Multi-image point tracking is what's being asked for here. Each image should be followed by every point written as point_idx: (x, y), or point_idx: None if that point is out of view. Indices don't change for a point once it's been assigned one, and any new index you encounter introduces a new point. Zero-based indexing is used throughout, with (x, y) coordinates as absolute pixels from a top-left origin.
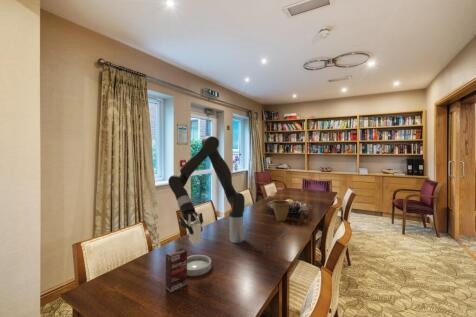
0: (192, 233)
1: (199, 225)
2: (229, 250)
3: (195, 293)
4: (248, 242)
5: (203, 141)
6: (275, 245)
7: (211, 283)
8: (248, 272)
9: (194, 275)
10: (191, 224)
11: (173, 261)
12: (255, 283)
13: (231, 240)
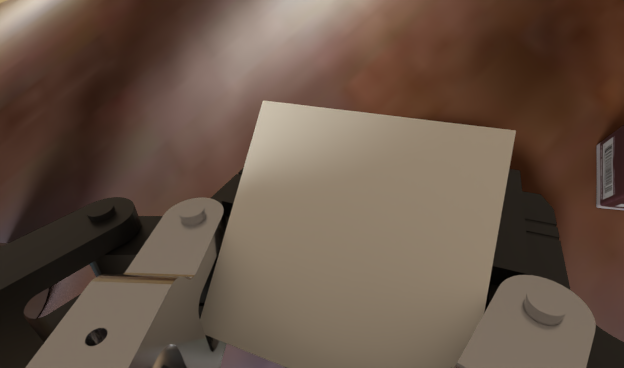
0: (514, 174)
1: (309, 110)
2: None
3: (616, 39)
4: (20, 211)
5: None
6: (12, 84)
7: (475, 52)
8: (276, 3)
9: None
10: (412, 337)
11: None
12: None
13: (35, 298)
